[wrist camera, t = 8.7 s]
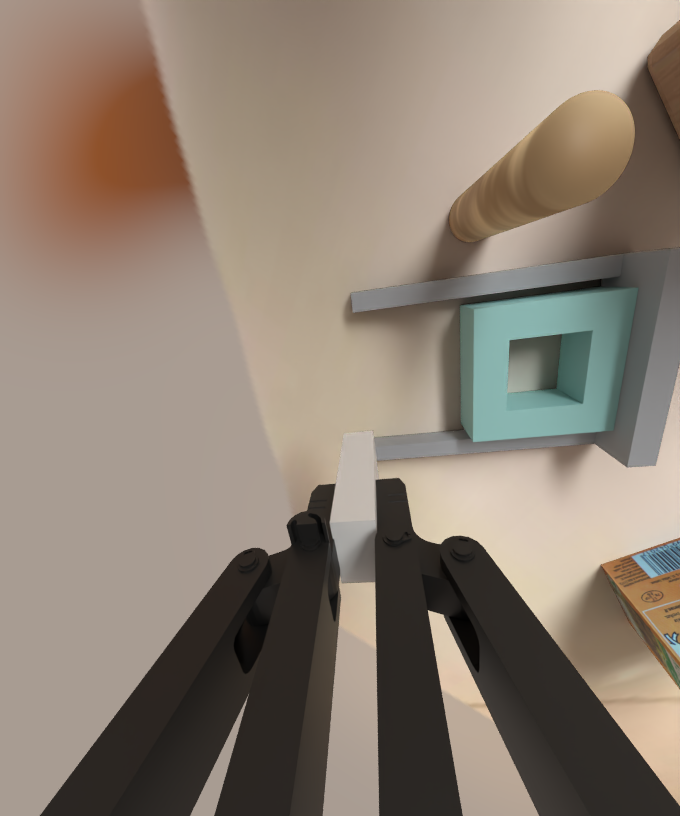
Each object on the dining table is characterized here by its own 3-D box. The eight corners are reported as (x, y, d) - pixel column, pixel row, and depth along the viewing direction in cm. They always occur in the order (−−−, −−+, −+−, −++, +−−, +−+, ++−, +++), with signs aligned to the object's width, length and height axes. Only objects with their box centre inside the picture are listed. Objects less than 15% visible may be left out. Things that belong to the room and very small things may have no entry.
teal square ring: (459, 305, 28) (473, 309, 24) (600, 286, 26) (638, 287, 23) (460, 422, 32) (473, 442, 28) (583, 411, 30) (613, 430, 27)
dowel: (448, 193, 25) (534, 102, 12) (497, 185, 25) (643, 79, 12) (449, 245, 26) (528, 213, 13) (496, 238, 26) (625, 197, 13)
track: (351, 292, 28) (347, 295, 23) (633, 251, 25) (707, 244, 20) (370, 451, 34) (371, 485, 28) (603, 431, 31) (655, 465, 25)
